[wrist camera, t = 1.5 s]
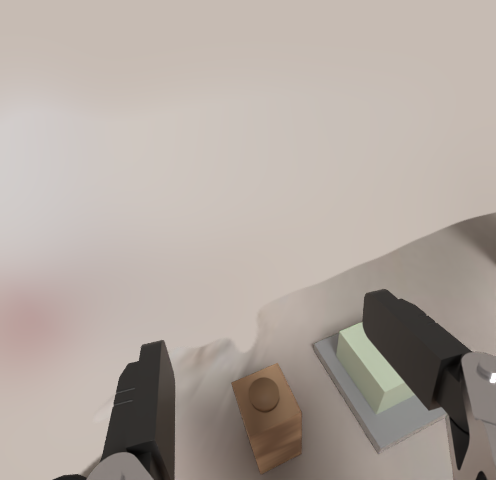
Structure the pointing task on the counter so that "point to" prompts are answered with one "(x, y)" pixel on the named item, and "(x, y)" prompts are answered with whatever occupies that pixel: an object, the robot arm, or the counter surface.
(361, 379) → the foundation
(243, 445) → the counter surface
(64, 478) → the coffee cup
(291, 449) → the walnut pillar block
